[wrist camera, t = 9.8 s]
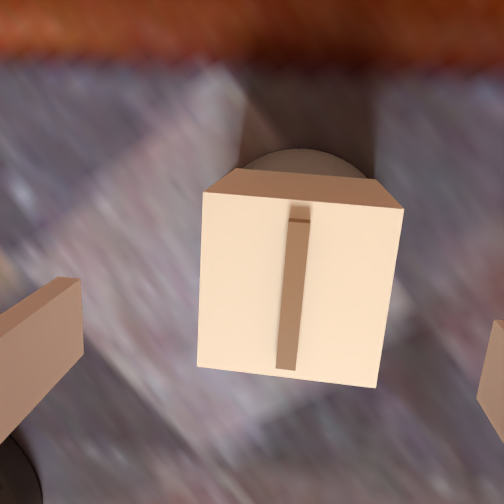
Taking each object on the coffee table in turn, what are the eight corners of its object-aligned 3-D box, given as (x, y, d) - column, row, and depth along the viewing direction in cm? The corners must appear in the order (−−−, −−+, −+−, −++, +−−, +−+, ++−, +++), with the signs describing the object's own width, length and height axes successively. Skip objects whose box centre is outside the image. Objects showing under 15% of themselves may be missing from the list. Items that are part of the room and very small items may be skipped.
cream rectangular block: (228, 296, 28) (193, 373, 20) (235, 168, 26) (199, 194, 17) (358, 310, 27) (377, 396, 19) (376, 179, 25) (407, 212, 17)
